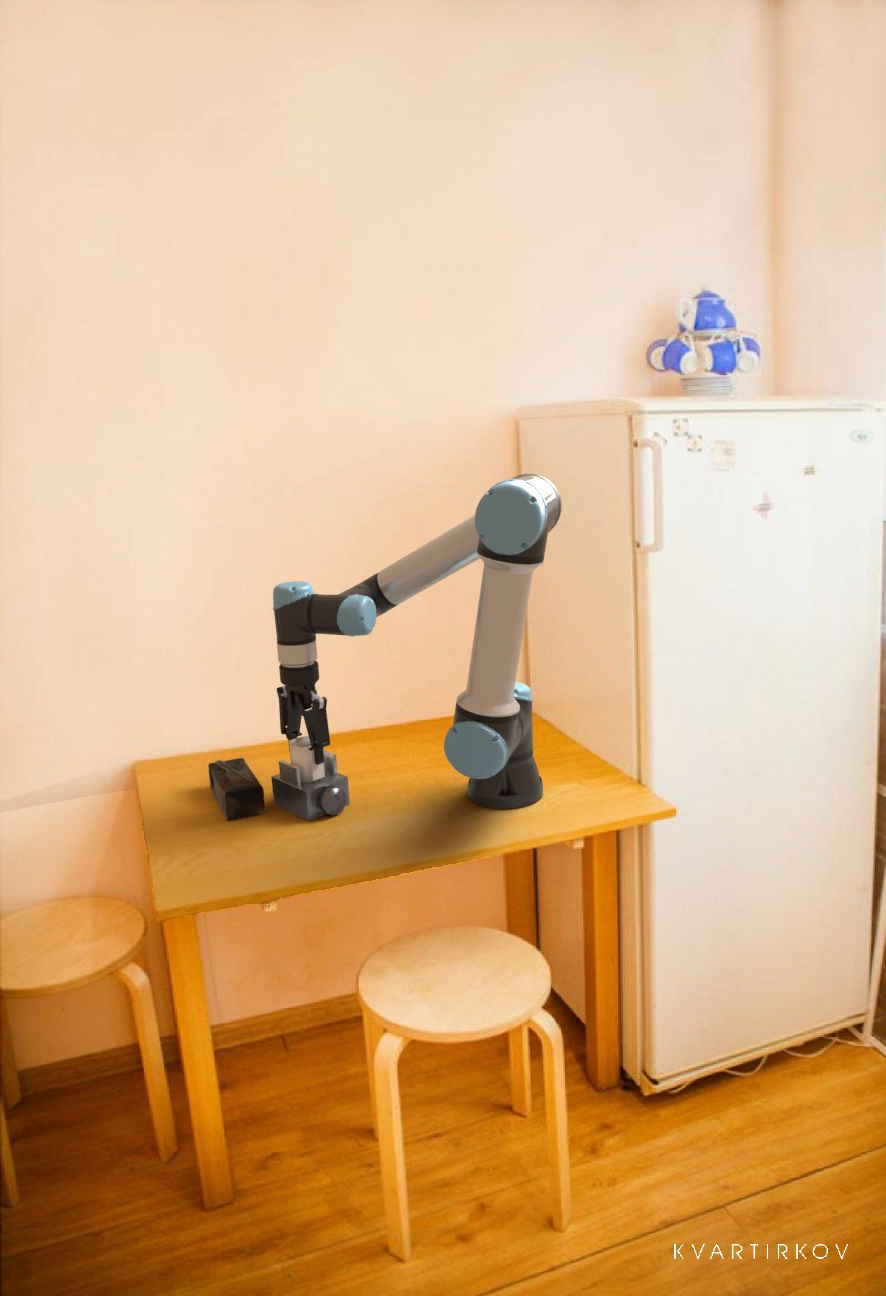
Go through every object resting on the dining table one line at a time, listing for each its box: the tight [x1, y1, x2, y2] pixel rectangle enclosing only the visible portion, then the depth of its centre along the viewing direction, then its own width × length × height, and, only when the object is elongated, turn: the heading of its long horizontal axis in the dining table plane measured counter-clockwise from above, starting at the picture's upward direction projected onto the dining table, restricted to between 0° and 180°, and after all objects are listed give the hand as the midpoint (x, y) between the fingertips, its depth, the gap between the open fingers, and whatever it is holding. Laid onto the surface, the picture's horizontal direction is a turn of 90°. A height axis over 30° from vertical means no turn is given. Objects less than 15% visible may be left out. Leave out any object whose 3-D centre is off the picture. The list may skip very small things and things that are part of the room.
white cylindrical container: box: [291, 735, 323, 783], centre depth 195 cm, size 6×6×8 cm
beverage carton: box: [207, 757, 266, 822], centre depth 201 cm, size 8×19×7 cm, turn 23°
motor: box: [270, 749, 351, 822], centre depth 196 cm, size 14×10×10 cm
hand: (308, 773), depth 196 cm, fingers closed on white cylindrical container, 6 cm apart
